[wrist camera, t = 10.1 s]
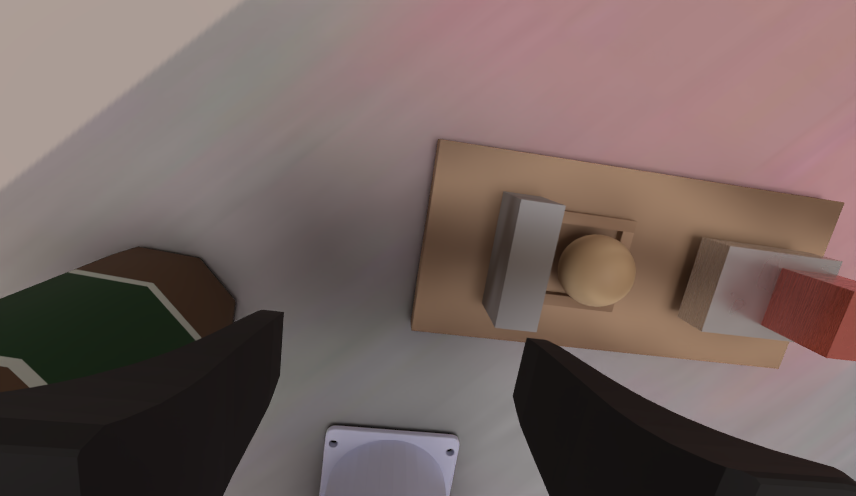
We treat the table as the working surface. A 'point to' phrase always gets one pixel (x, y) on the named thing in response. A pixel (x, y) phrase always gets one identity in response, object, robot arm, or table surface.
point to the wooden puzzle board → (580, 216)
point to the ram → (772, 297)
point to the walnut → (596, 270)
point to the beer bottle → (108, 317)
